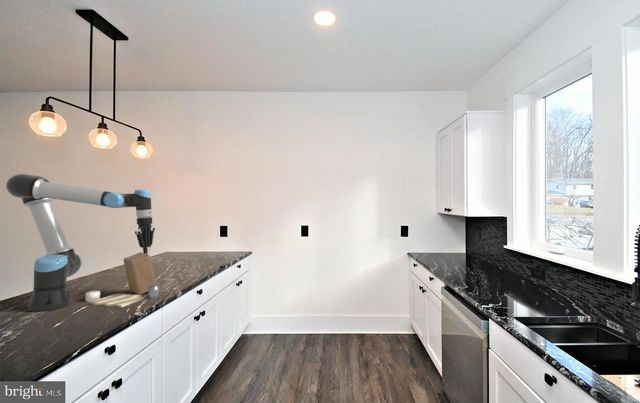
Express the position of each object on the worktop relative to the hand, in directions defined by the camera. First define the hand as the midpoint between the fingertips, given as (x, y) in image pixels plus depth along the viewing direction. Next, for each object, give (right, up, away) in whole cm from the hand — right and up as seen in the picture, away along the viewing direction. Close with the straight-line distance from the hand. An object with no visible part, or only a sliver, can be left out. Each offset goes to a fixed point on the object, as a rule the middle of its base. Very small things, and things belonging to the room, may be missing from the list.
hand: (146, 258), depth 170 cm
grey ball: (+9, -19, -11) cm, 23 cm away
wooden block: (-1, -17, -2) cm, 17 cm away
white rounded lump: (-18, -18, -17) cm, 30 cm away
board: (-4, -18, -17) cm, 25 cm away
